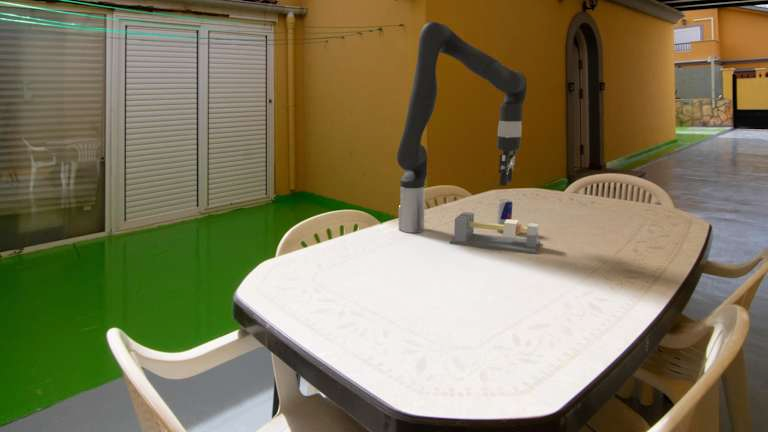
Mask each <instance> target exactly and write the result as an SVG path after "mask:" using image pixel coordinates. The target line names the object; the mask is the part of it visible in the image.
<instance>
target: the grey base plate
mask: <svg viewBox="0 0 768 432" xmlns="http://www.w3.org/2000/svg"><path fill="white" fill-rule="evenodd" d="M526 239H527V238H520V237H519V238H518V237H516V238H509V237H503V235H493V234H492V235H491V234H483V233H475V232H473V235H472V236H471V237H470V238H469V239H468V240H467V241H466V242H461V241H454V236H453V237H452V238H451V239H449V244H453V245H459V246H460V245H461V246H469V247H476V248H477V247H478V248H483V249H491V250H492V249H493V250H501V251H509V252H515V253H516V252H517V253H526V254H533V255H535V254H536V253H537V251H538V249H539V247H540V244H541V240H538V242H537V245H536V247H535V248H534V247H526Z"/></svg>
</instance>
